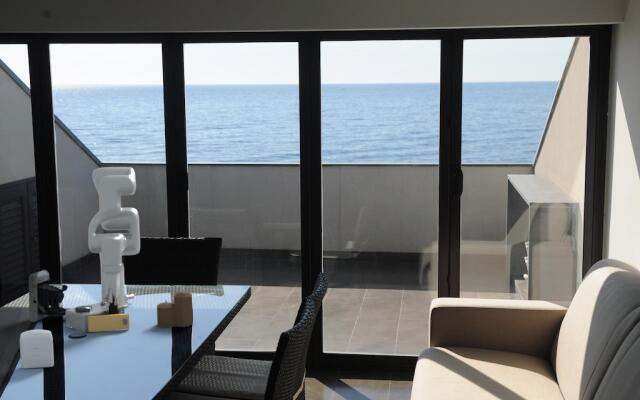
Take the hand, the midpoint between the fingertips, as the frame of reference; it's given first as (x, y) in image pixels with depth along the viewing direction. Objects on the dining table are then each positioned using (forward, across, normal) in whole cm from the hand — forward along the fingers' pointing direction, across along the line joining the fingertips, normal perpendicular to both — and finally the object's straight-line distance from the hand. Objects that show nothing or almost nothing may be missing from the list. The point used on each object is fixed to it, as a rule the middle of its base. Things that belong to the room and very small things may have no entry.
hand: (113, 315), depth 306 cm
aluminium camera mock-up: (+5, -6, -8) cm, 11 cm away
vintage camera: (+5, -14, -26) cm, 30 cm away
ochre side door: (+5, +5, -2) cm, 7 cm away
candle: (+5, -3, +24) cm, 25 cm away
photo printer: (+6, +46, -17) cm, 50 cm away
